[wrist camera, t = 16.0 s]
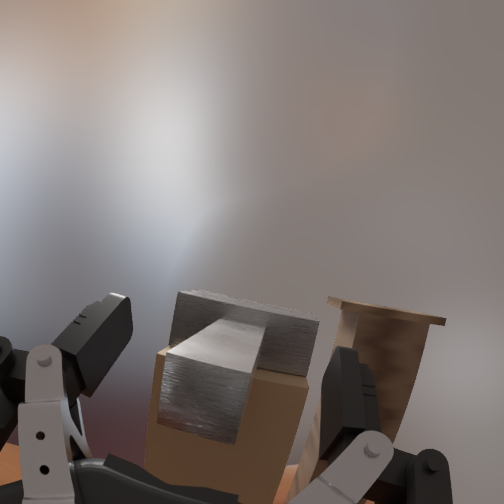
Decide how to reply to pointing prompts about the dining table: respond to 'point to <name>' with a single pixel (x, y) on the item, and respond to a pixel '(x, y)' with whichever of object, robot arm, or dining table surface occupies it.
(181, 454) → the cardboard box
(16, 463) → the dining table surface
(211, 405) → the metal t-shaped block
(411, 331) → the tall wooden plank
